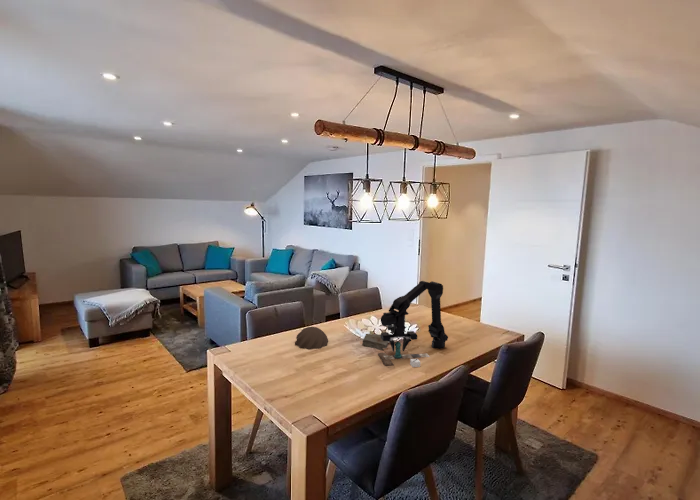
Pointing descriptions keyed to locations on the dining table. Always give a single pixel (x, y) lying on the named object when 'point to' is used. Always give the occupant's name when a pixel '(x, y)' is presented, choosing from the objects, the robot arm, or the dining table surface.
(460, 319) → the dining table surface
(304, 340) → the decorative dome
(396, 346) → the pawn
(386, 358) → the board
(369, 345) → the marble piece
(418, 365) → the die
